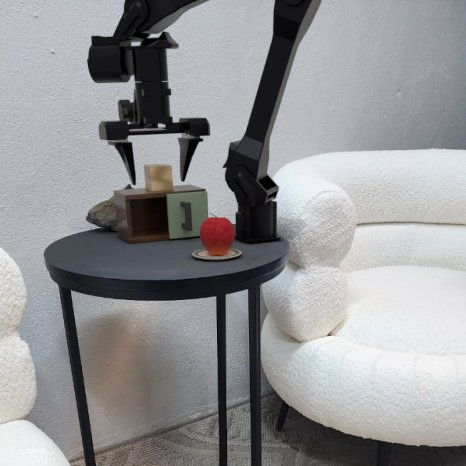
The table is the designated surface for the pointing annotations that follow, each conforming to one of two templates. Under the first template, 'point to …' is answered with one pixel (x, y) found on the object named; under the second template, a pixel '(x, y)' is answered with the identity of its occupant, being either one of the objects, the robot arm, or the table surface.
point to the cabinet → (145, 213)
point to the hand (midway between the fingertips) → (158, 183)
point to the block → (158, 177)
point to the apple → (216, 239)
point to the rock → (104, 213)
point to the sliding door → (186, 213)
